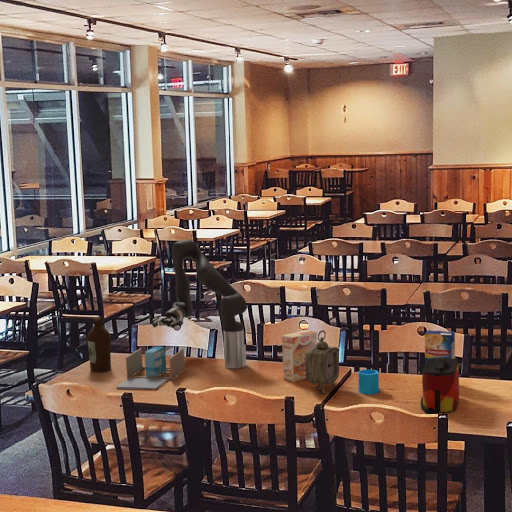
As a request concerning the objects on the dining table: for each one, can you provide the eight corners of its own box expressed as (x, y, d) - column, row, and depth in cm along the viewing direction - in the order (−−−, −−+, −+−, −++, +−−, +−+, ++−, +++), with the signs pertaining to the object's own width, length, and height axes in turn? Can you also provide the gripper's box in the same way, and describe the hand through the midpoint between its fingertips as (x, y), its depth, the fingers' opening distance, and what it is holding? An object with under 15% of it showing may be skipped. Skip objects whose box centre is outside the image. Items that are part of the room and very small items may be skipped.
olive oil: (106, 365, 415) (102, 314, 412) (116, 369, 406) (112, 317, 403) (85, 369, 409) (82, 317, 406) (95, 373, 400) (91, 320, 397)
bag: (454, 417, 317) (454, 373, 315) (416, 415, 321) (415, 372, 319) (461, 394, 346) (460, 353, 344) (425, 392, 350) (425, 352, 348)
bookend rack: (184, 370, 400) (183, 349, 399) (171, 380, 383) (170, 358, 382) (141, 369, 405) (140, 348, 404) (127, 379, 389) (125, 357, 387)
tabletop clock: (325, 395, 351) (323, 335, 347) (304, 393, 355) (302, 333, 352) (339, 386, 363) (338, 327, 360) (320, 384, 368) (318, 326, 364)
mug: (377, 394, 349) (377, 374, 348) (357, 394, 351) (357, 374, 350) (380, 386, 361) (380, 367, 360) (361, 386, 363) (360, 366, 362)
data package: (154, 378, 388) (153, 352, 386) (145, 378, 389) (144, 351, 388) (166, 371, 399) (165, 346, 397) (157, 371, 401) (156, 345, 399)
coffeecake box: (294, 382, 373) (292, 337, 371) (282, 379, 378) (281, 335, 376) (318, 375, 383) (317, 331, 380) (307, 372, 388) (305, 329, 386)
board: (167, 381, 382) (167, 379, 382) (156, 390, 369) (155, 387, 369) (129, 380, 387) (129, 377, 387) (116, 388, 373) (116, 386, 373)
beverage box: (451, 388, 354) (451, 335, 352) (425, 385, 359) (424, 333, 356) (455, 383, 360) (455, 331, 358) (429, 381, 365) (428, 330, 362)
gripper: (158, 309, 418) (148, 317, 403) (187, 310, 416) (177, 318, 400) (159, 324, 420) (148, 333, 404) (187, 325, 417) (178, 334, 401)
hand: (163, 325), depth 402 cm, fingers open, 8 cm apart
